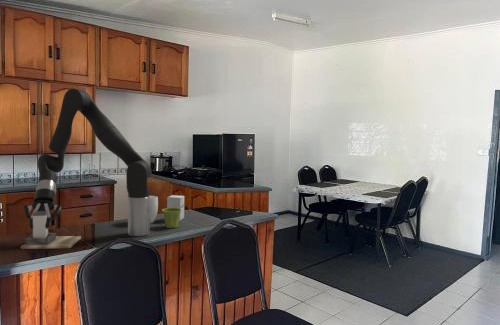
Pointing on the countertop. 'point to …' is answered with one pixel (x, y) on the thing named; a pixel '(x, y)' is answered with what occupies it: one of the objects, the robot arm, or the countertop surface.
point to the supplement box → (176, 204)
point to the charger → (39, 224)
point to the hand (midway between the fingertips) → (39, 227)
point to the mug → (153, 207)
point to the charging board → (50, 242)
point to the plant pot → (171, 217)
